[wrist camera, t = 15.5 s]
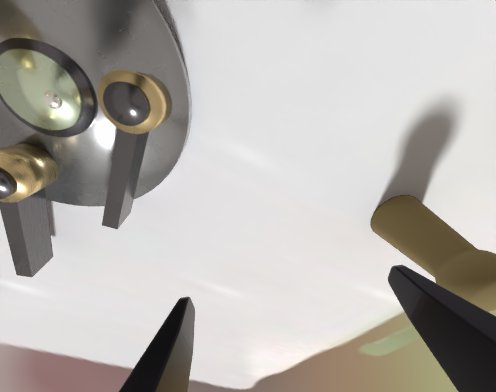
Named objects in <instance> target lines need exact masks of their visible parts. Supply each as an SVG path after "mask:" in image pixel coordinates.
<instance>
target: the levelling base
mask: <svg viewBox="0 0 496 392" xmlns="http://www.w3.org/2000/svg"><path fill="white" fill-rule="evenodd" d="M114 70H129V71H136V72H142V73H147V74H150V75H153V76H155V77H156V78H158V79H159V80H160V81H161V82H162V83H163V84H164V85H165V86H166V88H167V89H168V91H169V93H170V96H171V99H172V111H171V114H170V116H169V118H168V119H167V120H166V121H165V122H164V123H162V124H161V125H159V126H157V127H155V128H154V129H152V130H150V131H149V135H148V139H147V143H146V148H145V152H144V156H143V160H142V165H141V169H140V173H139V178H138V182H137V186H136V191H135V195H134V199H136V198H138V197H140V196H142V195H144V194H146V193H147V192H149V191H151V190H152V189H154V188H155V187H156V186H157V185H159V184H160V183H161V182H162V181H163V180H164V179H165V178H166V177H167V175H168V174H169V173H170V172H171V170H172V169H173V167H174V166H175V164H176V163H177V161H178V160H179V158H180V156H181V154H182V152H183V150H184V148H185V145H186V142H187V139H188V135H189V131H190V124H191V108H192V102H191V93H190V84H189V80H188V75H187V71H186V67H185V64H184V61H183V58H182V55H181V52H180V49H179V47H178V44H177V42H176V40H175V38H174V36H173V33H172V31H171V29H170V27H169V25H168V24H167V22H166V20H165V18H164V17H163V15H162V13H161V12H160V10H159V8H158V7H157V5H156V4H155V2H154V1H153V0H0V148H4V147H8V146H11V145H15V144H20V143H24V144H30V145H33V146H36V147H38V148H40V149H42V150H44V151H45V152H46V153H48V154H49V155H50V156H51V157H52V158H53V160H54V161H55V162H56V164H57V166H58V170H59V175H58V178H57V180H56V181H55V182H53V183H52V184H50V185H48V186H46V187H45V195H46V199H48V200H52V201H56V202H60V203H65V204H71V205H79V206H105V203H106V197H107V191H108V185H109V179H110V173H111V166H112V160H113V154H114V148H115V142H116V136H117V130H118V128H117V127H116V126H114V125H113V124H112V123H111V122H110V121H109V120H108V119H107V118H106V116H105V115H104V113H103V112H102V110H101V108H100V105H99V102H98V96H97V91H98V85H99V83H100V81H101V79H102V78H103V77H104V76H105V75H106V74H107V73H109V72H111V71H114Z"/></svg>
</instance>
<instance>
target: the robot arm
mask: <svg viewBox="0 0 496 392" xmlns="http://www.w3.org/2000/svg"><path fill="white" fill-rule="evenodd" d="M388 282H389V284H390V286H391V288H392V290H393V291H394V293H395V295H396V297H397V299H398V300H399V302H400V304H401V306H402V307H403V309H404V311H405V313H406V314H407V316H408V318H409V319H410V321H411V322H412V324H413V326H414V327H415V329H416V330H417V331H418V333H419V334H420V336H421V337H422V339H423V340H424V342H425V343H426V345H427V346H428V347H429V349H430V351H431V352H432V353H433V355H434V356H435V358H436V359H437V361H438V362H439V364H440V365H441V367H442V368H443V370H444V371H445V372H446V374H447V375H448V377H449V378H450V380H451V381H452V383H453V384H454V386H455V387H456V389H457V390H458V391H459V392H496V316H494V315H492V314H490V313H489V312H487V311H485V310H483V309H481V308H480V307H478V306H476V305H474V304H472V303H471V302H469V301H467V300H465V299H463V298H462V297H460V296H458V295H456V294H454V293H453V292H451V291H449V290H447V289H445V288H444V287H442V286H440V285H438V284H436V283H435V282H433V281H431V280H429V279H427V278H426V277H424V276H422V275H420V274H418V273H417V272H415V271H413V270H411V269H409V268H407V267H406V266H403V265H397V266H393V267H392V268H391V270H390V273H389V276H388ZM194 321H195V308H194V306H193V303H192V301H191V298H190V297H183V298H180V299H179V300H178V302H177V303H176V305H175V306H174V308H173V309H172V311H171V312H170V314H169V316H168V317H167V319H166V320H165V322H164V323H163V325H162V326H161V328H160V329H159V331H158V332H157V334H156V335H155V337H154V339H153V340H152V342H151V343H150V345H149V346H148V348H147V349H146V351H145V352H144V354H143V355H142V357H141V358H140V360H139V362H138V363H137V365H136V366H135V368H134V369H133V371H132V372H131V374H130V375H129V377H128V378H127V380H126V381H125V383H124V385H123V386H122V388H121V389H120V391H119V392H187V389H188V382H189V376H190V369H191V362H192V355H193V340H194Z"/></svg>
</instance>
